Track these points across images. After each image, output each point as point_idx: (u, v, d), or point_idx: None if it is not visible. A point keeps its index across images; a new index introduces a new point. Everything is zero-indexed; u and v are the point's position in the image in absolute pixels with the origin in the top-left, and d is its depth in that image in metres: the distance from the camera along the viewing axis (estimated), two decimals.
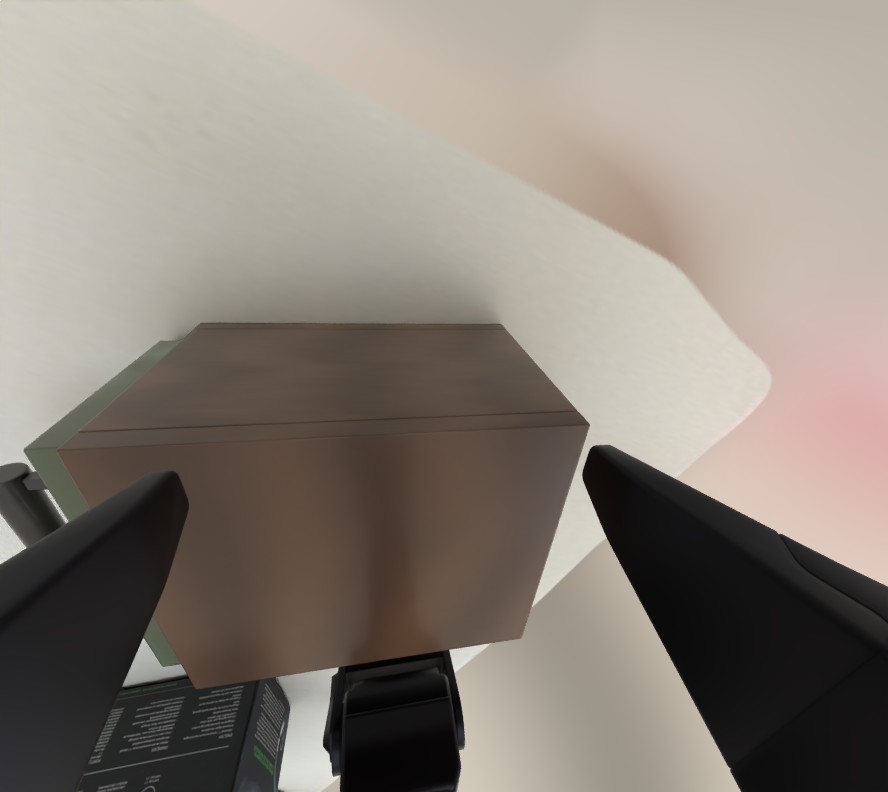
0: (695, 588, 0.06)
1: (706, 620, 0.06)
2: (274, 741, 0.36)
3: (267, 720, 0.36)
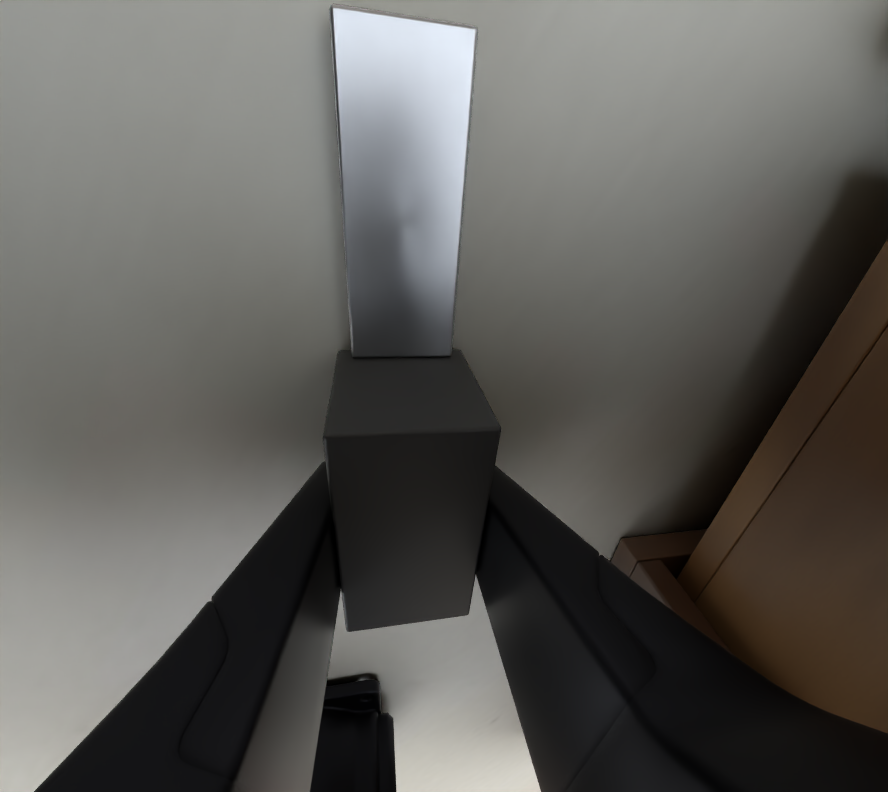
0: (519, 613, 0.06)
1: (526, 649, 0.06)
2: None
3: None
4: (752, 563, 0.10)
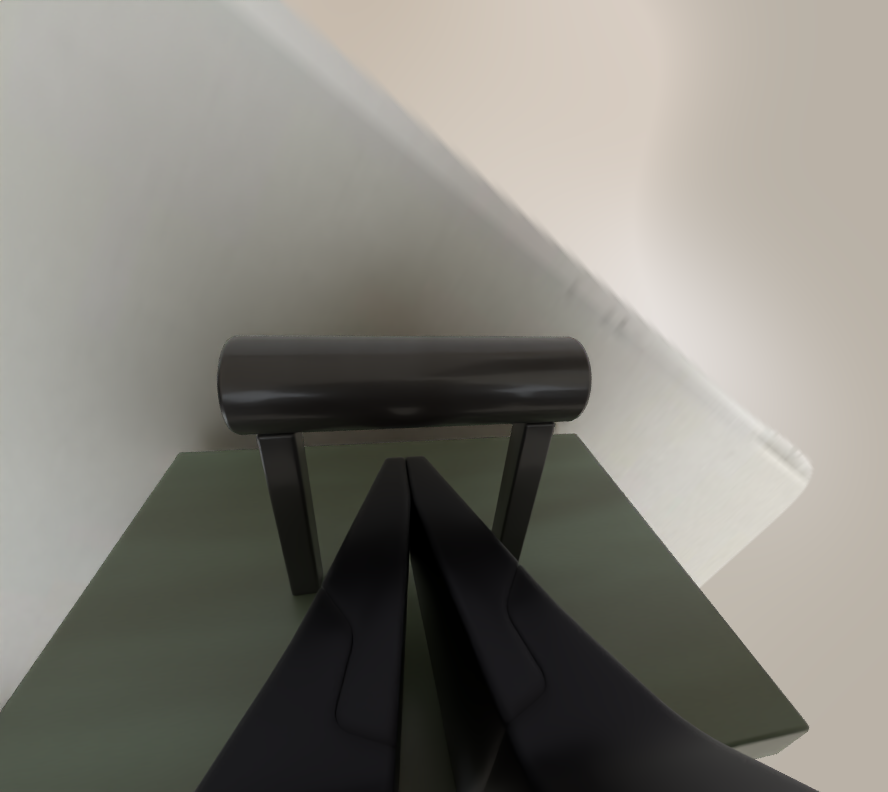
0: (439, 625, 0.05)
1: (445, 663, 0.05)
2: None
3: None
4: None
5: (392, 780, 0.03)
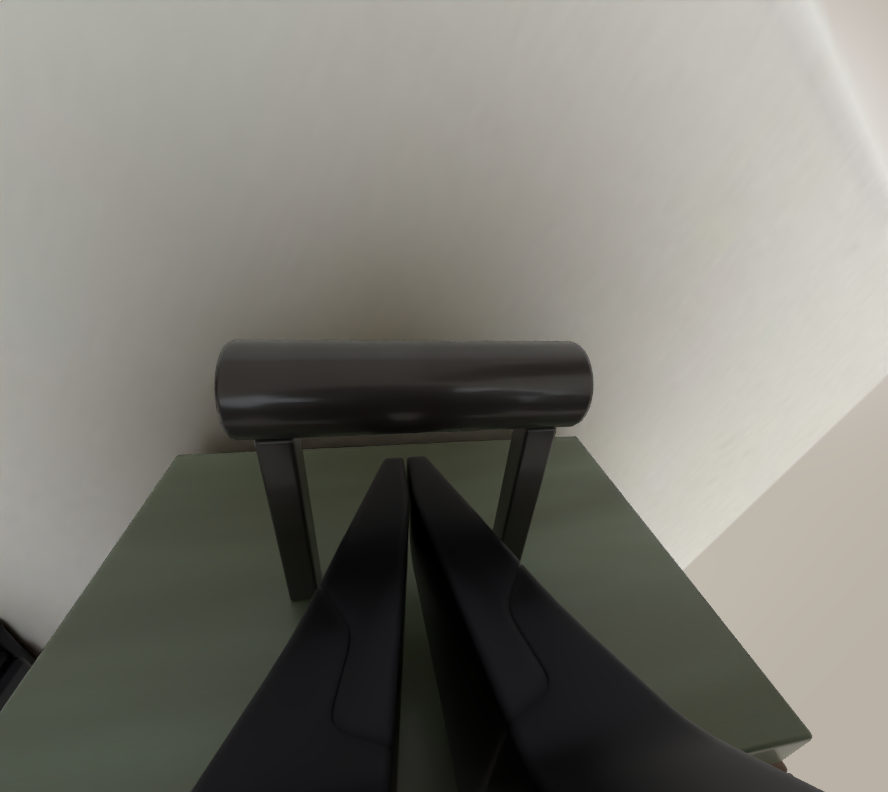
0: (441, 624, 0.05)
1: (447, 662, 0.05)
2: None
3: None
4: None
5: (388, 782, 0.03)
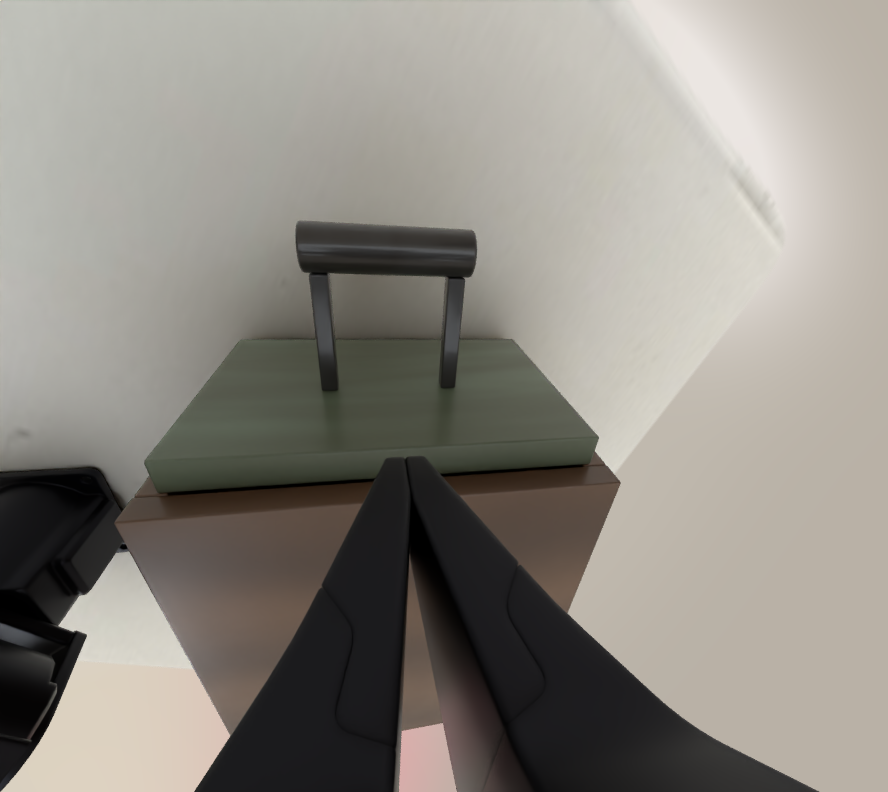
0: (439, 625, 0.05)
1: (445, 662, 0.05)
2: None
3: None
4: None
5: (391, 780, 0.03)
